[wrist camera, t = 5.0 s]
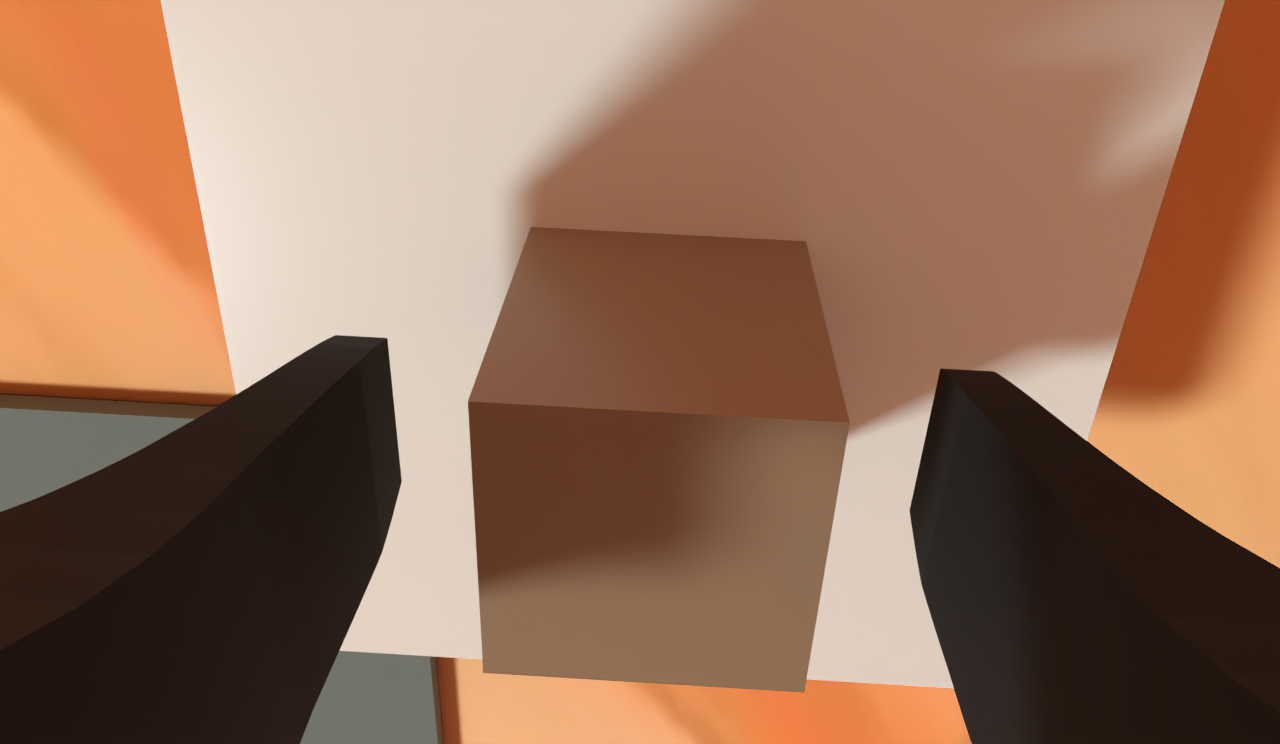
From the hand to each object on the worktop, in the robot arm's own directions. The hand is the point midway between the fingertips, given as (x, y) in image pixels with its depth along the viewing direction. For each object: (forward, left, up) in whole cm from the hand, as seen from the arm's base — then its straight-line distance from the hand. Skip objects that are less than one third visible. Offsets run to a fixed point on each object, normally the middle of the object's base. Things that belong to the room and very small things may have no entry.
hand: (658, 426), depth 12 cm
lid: (0, 0, -3) cm, 3 cm away
